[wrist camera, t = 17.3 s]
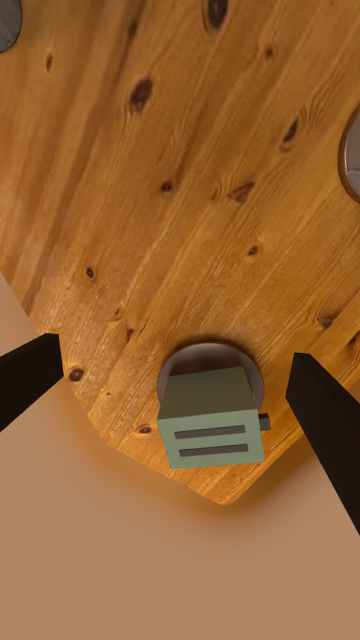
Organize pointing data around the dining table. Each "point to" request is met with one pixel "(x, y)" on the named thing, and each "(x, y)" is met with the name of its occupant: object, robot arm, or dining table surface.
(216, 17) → the dining table surface
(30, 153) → the dining table surface
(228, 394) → the toaster
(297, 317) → the dining table surface
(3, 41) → the moka pot
